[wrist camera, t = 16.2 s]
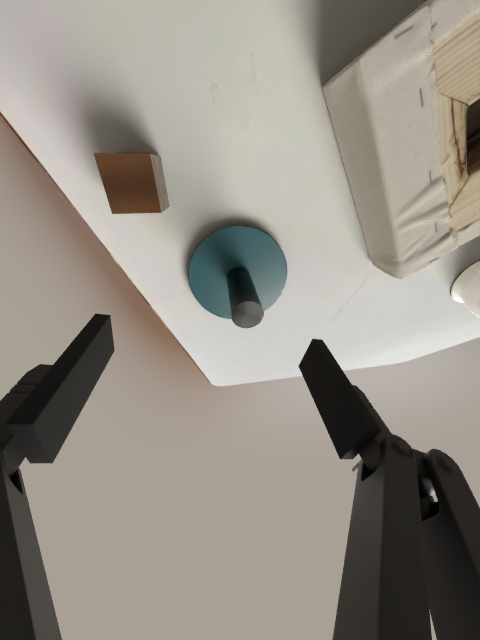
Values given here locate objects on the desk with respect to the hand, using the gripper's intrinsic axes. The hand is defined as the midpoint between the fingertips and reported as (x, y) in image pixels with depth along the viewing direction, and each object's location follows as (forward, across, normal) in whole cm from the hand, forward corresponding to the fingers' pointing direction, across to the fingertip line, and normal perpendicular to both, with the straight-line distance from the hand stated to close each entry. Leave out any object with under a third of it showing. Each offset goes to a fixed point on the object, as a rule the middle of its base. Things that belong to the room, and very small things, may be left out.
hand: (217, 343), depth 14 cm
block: (+20, -10, +6) cm, 23 cm away
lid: (+19, +4, -3) cm, 20 cm away
